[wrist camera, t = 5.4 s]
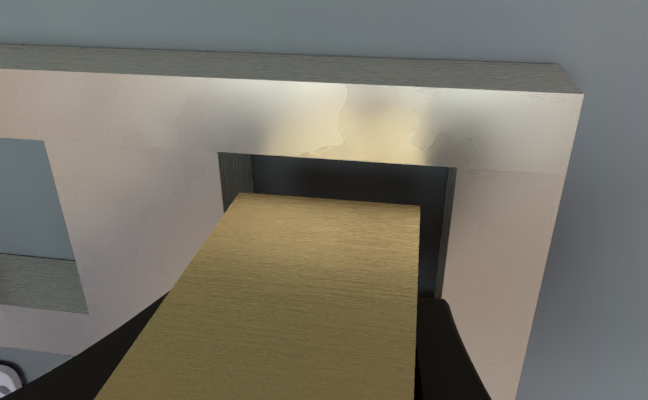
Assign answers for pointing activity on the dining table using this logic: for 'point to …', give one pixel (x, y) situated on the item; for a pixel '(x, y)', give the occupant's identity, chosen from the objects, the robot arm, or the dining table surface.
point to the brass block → (286, 308)
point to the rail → (279, 140)
